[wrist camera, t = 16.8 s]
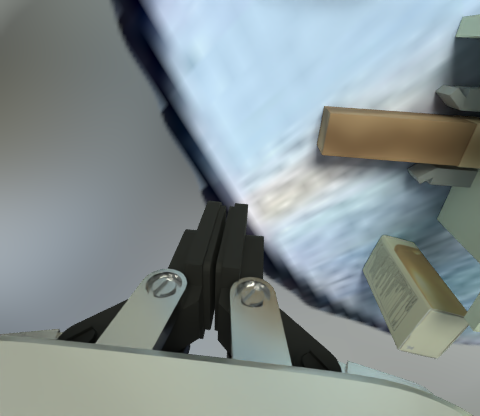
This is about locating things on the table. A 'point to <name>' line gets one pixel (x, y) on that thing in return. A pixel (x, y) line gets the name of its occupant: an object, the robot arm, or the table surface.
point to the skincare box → (413, 298)
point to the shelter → (459, 175)
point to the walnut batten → (400, 136)
